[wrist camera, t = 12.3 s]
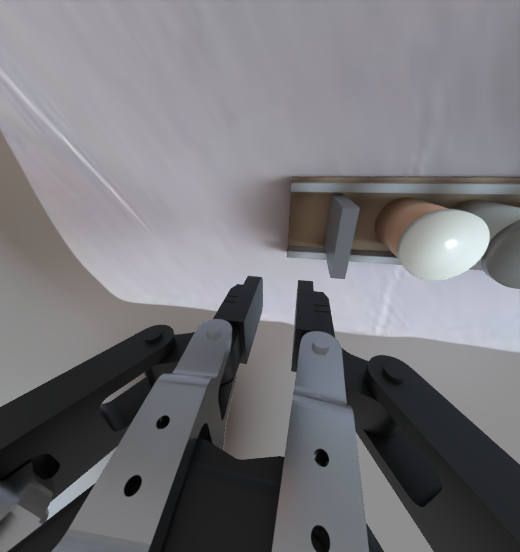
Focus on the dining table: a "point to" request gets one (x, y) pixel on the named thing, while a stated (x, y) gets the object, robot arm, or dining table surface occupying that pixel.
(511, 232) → the grey jar
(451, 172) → the dining table surface
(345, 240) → the pusher paddle
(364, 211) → the jar lane
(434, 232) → the terracotta jar
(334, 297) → the dining table surface
